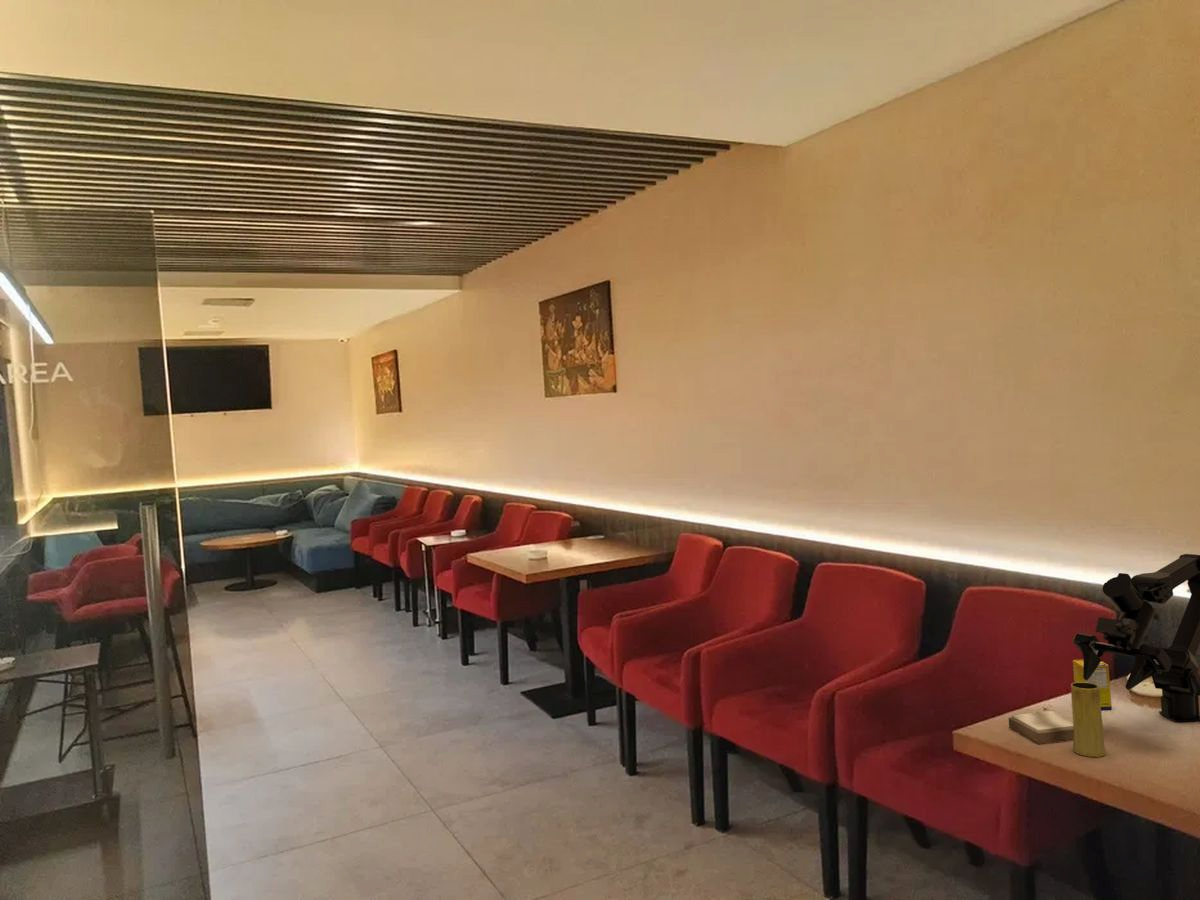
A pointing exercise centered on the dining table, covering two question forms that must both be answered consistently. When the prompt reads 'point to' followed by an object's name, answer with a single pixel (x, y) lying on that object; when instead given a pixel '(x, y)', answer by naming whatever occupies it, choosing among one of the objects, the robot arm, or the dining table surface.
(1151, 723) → the dining table surface
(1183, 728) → the dining table surface
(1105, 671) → the supplement box
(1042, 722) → the stand
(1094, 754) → the vase
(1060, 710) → the dining table surface
